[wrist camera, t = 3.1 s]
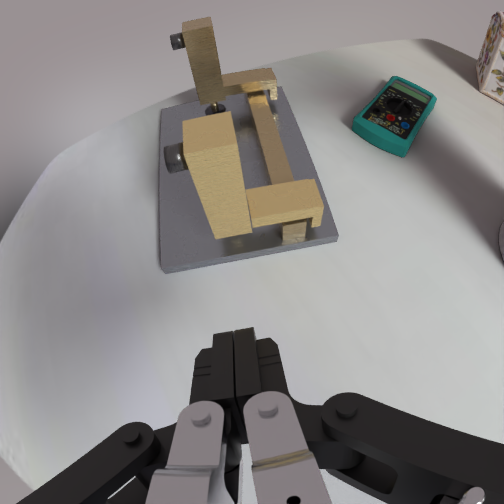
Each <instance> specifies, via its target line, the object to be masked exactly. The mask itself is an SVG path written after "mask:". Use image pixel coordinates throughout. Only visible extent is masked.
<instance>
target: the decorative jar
mask: <svg viewBox="0 0 504 504" xmlns="http://www.w3.org/2000/svg"><path fill="white" fill-rule="evenodd" d="M476 71H477V77H478V84H479V91H480V92H481V93H483V94H485V95H487V96H489V97H490V98H492V99H494V100H496V101H498V102H499V103H501V104H503V105H504V12H500V11H498V12H496V14H494V15H493V16H492V19H491V22H490V25H489V28H488V31H487V34H486V37H485V40H484V43H483V46H482V49H481V52H480V55H479V58H478V61H477V64H476Z"/></svg>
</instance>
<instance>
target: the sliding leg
mask: <svg viewBox="0 0 504 504" xmlns="http://www.w3.org/2000/svg"><path fill="white" fill-rule="evenodd" d="M182 123H183V142H180V143H176V144H172V145H168V146H164V149H163V153H164V160H165V164H166V168H167V170H168V172H169V173H170V174H172V173H176V172H180V171H185V170H189V171H190V173H191V176H192V179H193V181H194V184H195V187H196V189H197V192H198V195H199V197H200V200H201V203H202V205H203V208H204V211H205V213H206V216H207V218H208V221H209V224H210V226H211V229H212V231H213V234H214V237H215V239H220V238H226V237H231V236H237V235H241V234H247V233H252V228H251V222H252V227H253V228H255V227H261V226H266V225H272V224H277V223H282V222H288V221H293V220H299V219H305V218H309V222H310V225H311V228H312V227H317V226H320V225H321V220H322V215H323V209H324V205H323V202H322V199H321V196H320V193H319V190H318V188H317V185H316V182H315V179H305V180H298V181H292V182H286V183H280V184H274V185H269V186H263V187H257V188H252V189H247V190H246V192H245V186H244V180H243V174H242V168H241V163H240V157H239V151H238V145H237V140H236V135H235V130H234V125H233V121H232V116H231V111H228V112H223V113H218V114H213V115H208V116H203V117H199V118H194V119H190V120H185V121H182ZM246 196H247V198H246ZM247 201H248V204H247ZM248 206H249V210H248ZM249 211H250V216H251V222H250V216H249Z"/></svg>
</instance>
